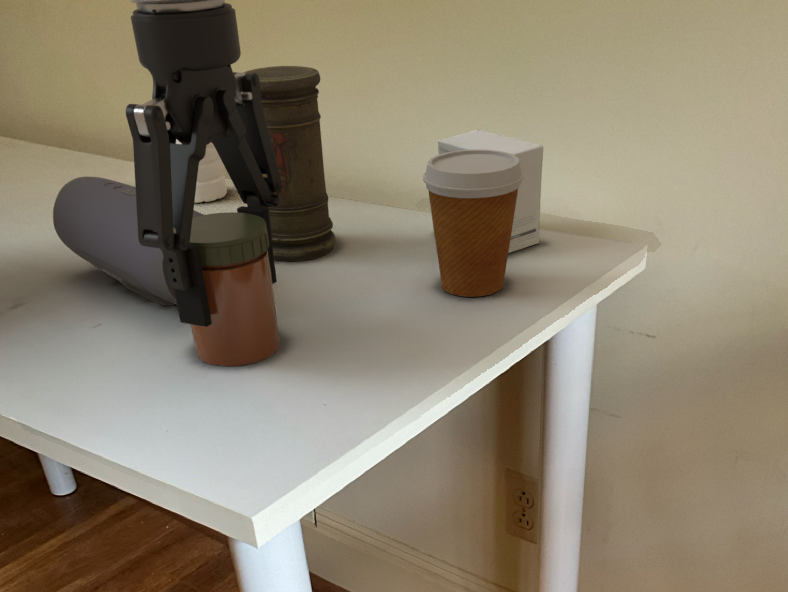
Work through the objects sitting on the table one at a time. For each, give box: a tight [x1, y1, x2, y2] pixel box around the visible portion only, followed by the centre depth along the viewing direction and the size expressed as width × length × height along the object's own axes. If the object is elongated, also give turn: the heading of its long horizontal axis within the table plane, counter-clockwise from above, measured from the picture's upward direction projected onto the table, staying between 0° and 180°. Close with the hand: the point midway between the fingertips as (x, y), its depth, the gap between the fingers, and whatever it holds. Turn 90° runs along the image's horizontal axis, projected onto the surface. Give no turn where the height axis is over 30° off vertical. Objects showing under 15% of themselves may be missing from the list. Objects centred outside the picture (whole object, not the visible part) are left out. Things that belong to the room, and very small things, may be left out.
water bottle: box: [176, 139, 228, 204], centre depth 111 cm, size 9×6×25 cm
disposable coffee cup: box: [422, 150, 524, 298], centre depth 86 cm, size 10×10×12 cm
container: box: [242, 65, 336, 262], centre depth 95 cm, size 9×9×18 cm
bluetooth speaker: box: [52, 176, 204, 306], centre depth 89 cm, size 23×9×10 cm, turn 43°
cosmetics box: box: [437, 128, 544, 254], centre depth 98 cm, size 10×6×10 cm, turn 37°
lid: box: [173, 211, 270, 266], centre depth 74 cm, size 8×8×2 cm
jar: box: [189, 250, 281, 367], centre depth 77 cm, size 8×8×10 cm
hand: (230, 301), depth 77 cm, fingers open, 9 cm apart
